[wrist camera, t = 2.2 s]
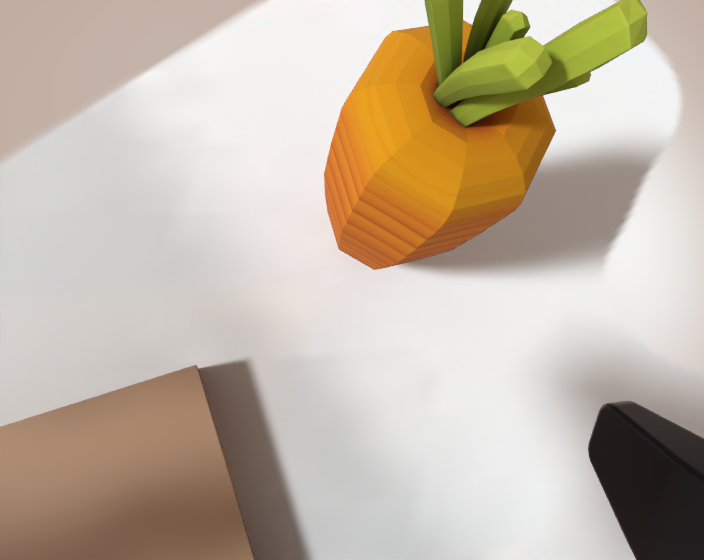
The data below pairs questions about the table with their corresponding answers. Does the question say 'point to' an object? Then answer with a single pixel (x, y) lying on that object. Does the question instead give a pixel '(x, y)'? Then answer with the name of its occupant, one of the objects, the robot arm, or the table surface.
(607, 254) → the table surface
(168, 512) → the walnut block
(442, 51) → the carrot
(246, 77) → the table surface
